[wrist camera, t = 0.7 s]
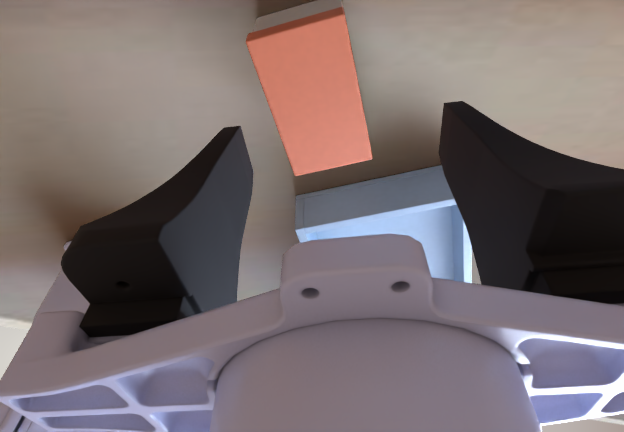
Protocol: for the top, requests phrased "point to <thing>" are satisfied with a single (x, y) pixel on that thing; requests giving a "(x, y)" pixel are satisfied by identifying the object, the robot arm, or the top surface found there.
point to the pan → (394, 217)
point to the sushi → (311, 85)
